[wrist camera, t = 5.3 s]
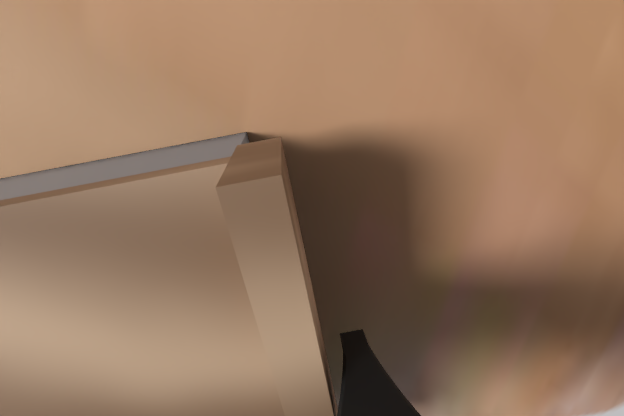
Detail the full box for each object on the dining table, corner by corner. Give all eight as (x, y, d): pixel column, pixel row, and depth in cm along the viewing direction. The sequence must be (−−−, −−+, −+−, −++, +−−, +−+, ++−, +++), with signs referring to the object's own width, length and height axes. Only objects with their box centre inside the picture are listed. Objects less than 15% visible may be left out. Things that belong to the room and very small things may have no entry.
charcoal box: (313, 400, 18) (321, 489, 14) (43, 454, 18) (-19, 558, 14) (246, 132, 12) (232, 162, 8) (-150, 207, 12) (-341, 271, 8)
